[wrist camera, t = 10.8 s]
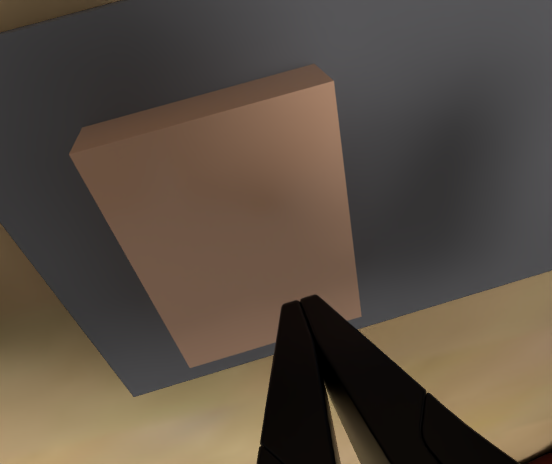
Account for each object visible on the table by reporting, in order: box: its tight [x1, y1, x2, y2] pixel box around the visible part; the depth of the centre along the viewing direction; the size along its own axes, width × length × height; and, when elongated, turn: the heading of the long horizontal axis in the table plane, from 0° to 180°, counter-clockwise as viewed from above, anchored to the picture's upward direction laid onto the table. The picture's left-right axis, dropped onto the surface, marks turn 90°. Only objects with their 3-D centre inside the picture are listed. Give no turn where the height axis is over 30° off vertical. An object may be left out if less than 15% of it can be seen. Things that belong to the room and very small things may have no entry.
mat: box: [0, 0, 552, 397], centre depth 13 cm, size 18×13×1 cm
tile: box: [69, 64, 362, 368], centre depth 12 cm, size 2×8×6 cm
